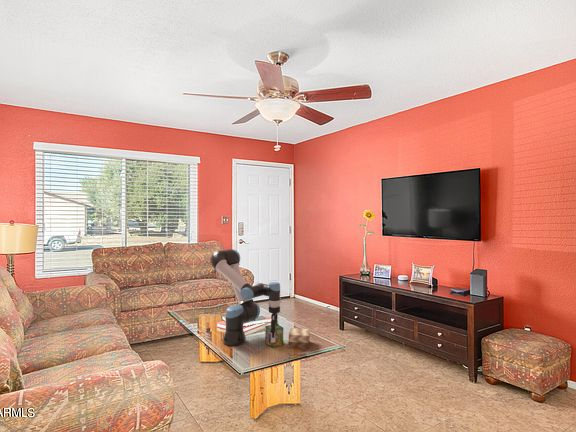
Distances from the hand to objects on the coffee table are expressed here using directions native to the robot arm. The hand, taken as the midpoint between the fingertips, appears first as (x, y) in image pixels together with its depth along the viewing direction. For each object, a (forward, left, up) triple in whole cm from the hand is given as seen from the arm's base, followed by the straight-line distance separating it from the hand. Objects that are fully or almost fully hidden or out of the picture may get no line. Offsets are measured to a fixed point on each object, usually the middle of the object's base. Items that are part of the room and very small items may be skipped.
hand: (274, 338), depth 233 cm
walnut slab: (+16, 0, -4) cm, 17 cm away
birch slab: (+17, 0, 0) cm, 17 cm away
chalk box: (0, 0, -4) cm, 4 cm away
